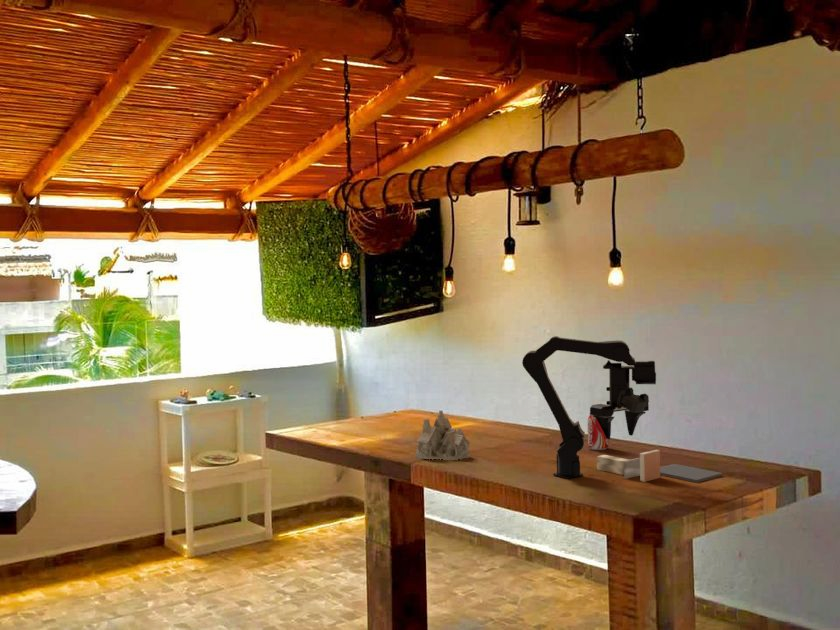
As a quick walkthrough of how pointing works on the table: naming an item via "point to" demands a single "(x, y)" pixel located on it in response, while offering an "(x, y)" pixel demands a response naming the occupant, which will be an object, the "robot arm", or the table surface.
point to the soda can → (596, 435)
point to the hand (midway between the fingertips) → (619, 437)
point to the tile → (649, 465)
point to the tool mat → (688, 473)
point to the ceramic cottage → (442, 441)
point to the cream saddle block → (619, 465)
